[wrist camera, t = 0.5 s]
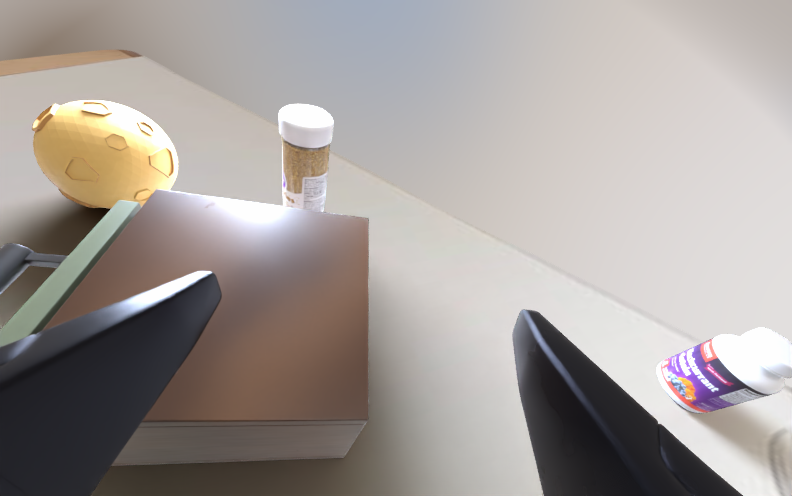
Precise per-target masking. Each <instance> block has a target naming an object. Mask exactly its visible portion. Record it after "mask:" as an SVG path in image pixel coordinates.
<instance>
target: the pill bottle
mask: <svg viewBox="0 0 792 496" xmlns="http://www.w3.org/2000/svg"><path fill="white" fill-rule="evenodd" d="M657 376H658V379H659V381H660V383H661V385H662V386H663V388H664V389H665V391H666V392H667V393H668V394H669V396H670V397H671V398H672V399H673V400H674V401H675V402H677V403H678V404H679V405H680V406H682V407H683V408H685V409H687V410H689V411H691V412H695V413H707V412H711V411H715V410H718V409H722V408H725V407H729V406H733V405H736V404H740V403H743V402H747V401H750V400H754V399H758V398H761V397H765V396H769V395H772V394H775V393H778V392H780V391H781V390H782V389H783V388H784V385H785V379H784V378H791V377H792V343H791V342H790V341H789V340H787V339H786V338H784V337H783V336H781V335H780V334H778V333H776V332H774V331H772V330H770V329H767V328H763V327H762V328H761V327H760V328H757V329H754V330H752V331H749V332H746V333H745V334H743V335H742V336H741V337H739V336H736V335H729V334H724V335H720V336H717V337H715V338H713V339H710V340H708V341H706V342H704V343H702V344H699V345H697V346H695V347H693V348H691V349H688V350H686V351H684V352H682V353H680V354H677V355H675V356H673V357H671V358H668V359H666V360H664V361H662V362H661V363H659V364H658V366H657Z"/></svg>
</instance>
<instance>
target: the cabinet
mask: <svg viewBox="0 0 792 496" xmlns="http://www.w3.org/2000/svg"><path fill="white" fill-rule="evenodd" d="M196 271H210V272H213V273H214V274H215V275H216V277H217V280H218V283H219V286H220V289H221V292H222V298H221V301H220V303H219V305H218V306H217V308H216V310H215V312H214V313H213V315H212V317H211V319H210V321H209V322H208V324H207V326H206V328H205V329H204V331H203V333H202V335H201V337H200V338H199V340H198V342H197V343H196V345H195V346H194V348H193V349H192V351H191V352H190V354H189V355H188V357H187V358H186V360H185V361H184V362H183V364H182V365H181V367H180V368H179V370H178V371H177V372H176V374H175V375H174V377H173V378H172V380H171V381H170V382H169V384H168V385H167V387H166V388H165V390H164V391H163V392H162V394H161V395H160V397H159V398H158V400H157V401H156V402H155V404H154V405H153V407H152V408H151V410H150V411H149V412H148V414H147V415H146V417H145V418H144V420H143V421H142V422H141V424H140V425H139V427H138V428H137V430H136V431H135V432H134V434H133V435H132V437H131V438H130V440H129V441H128V442H127V444H126V445H125V447H124V448H123V450H122V451H121V452H120V454H119V455H118V457H117V458H116V460H115V461H114V462H113V464H112V465H111V466H123V465H151V464H180V463H208V462H236V461H264V460H292V459H320V458H343V457H344V456H345V455H346V453H347V452H348V450H349V449H350V447H351V446H352V444H353V443H354V441H355V439H356V438H357V436H358V435H359V433H360V432H361V430H362V429H363V427H364V426H365V424H366V423H367V421H368V419H369V219H368V218H362V217H355V216H348V215H341V214H334V213H326V212H319V211H312V210H305V209H297V208H290V207H283V206H276V205H269V204H261V203H254V202H247V201H240V200H233V199H225V198H218V197H211V196H204V195H196V194H189V193H182V192H175V191H168V190H160V189H156V190H155V191H154V192H153V194H152V195H151V196H150V197H149V199H148V200H147V201H146V202H145V204H144V205H143V206H142V207H141V209H140V210H139V211H138V212H137V214H136V215H135V216H134V217H133V219H132V220H131V221H130V222H129V223H128V225H127V226H126V227H125V228H124V230H123V231H122V232H121V233H120V235H119V236H118V237H117V238H116V240H115V241H114V242H113V243H112V245H111V246H110V247H109V248H108V250H107V251H106V252H105V253H104V254H103V256H102V257H101V258H100V259H99V261H98V262H97V263H96V264H95V266H94V267H93V268H92V269H91V271H90V272H89V273H88V274H87V276H86V277H85V278H84V279H83V281H82V282H81V283H80V284H79V285H78V287H77V288H76V289H75V290H74V292H73V293H72V294H71V295H70V297H69V298H68V299H67V300H66V302H65V303H64V304H63V305H62V307H61V308H60V309H59V310H58V312H57V313H56V314H55V315H54V316H53V318H52V319H51V320H50V321H49V323H48V324H47V325H46V326H45V328H44V329H43V330H46V329H48V328H51V327H54V326H56V325H59V324H61V323H64V322H67V321H69V320H72V319H74V318H77V317H80V316H82V315H85V314H87V313H90V312H92V311H95V310H98V309H100V308H103V307H105V306H108V305H111V304H113V303H116V302H118V301H121V300H124V299H126V298H129V297H131V296H134V295H137V294H139V293H142V292H144V291H147V290H150V289H152V288H155V287H157V286H160V285H163V284H165V283H168V282H170V281H173V280H176V279H178V278H181V277H183V276H186V275H188V274H191V273H194V272H196ZM43 330H42V331H43Z"/></svg>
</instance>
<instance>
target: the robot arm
mask: <svg viewBox="0 0 792 496" xmlns="http://www.w3.org/2000/svg"><path fill="white" fill-rule="evenodd" d="M221 298H222V292H221V289H220V286H219V283H218V280H217V277H216V275H215V274H214V273H213V272H210V271H196V272H194V273H191V274H188V275H186V276H183V277H181V278H178V279H176V280H173V281H170V282H168V283H165V284H163V285H160V286H157V287H155V288H152V289H150V290H147V291H144V292H142V293H139V294H137V295H134V296H131V297H129V298H126V299H124V300H121V301H118V302H116V303H113V304H111V305H108V306H105V307H103V308H100V309H98V310H95V311H92V312H90V313H87V314H85V315H82V316H80V317H77V318H74V319H72V320H69V321H67V322H64V323H61V324H59V325H56V326H54V327H51V328H48V329H46V330H43V331H41V332H38V333H37V334H36V335H35V334H33V335H30V336H27V337H25V338H22V339H20V340H17V341H14V342H12V343H9V344H7V345H4V346H1V347H0V496H90V495H91V494H92V492H93V491H94V490H95V488H96V487H97V485H98V484H99V482H100V481H101V480H102V478H103V477H104V475H105V474H106V472H107V471H108V470H109V468H110V467H111V465H112V464H113V462H114V461H115V460H116V458H117V457H118V455H119V454H120V452H121V451H122V450H123V448H124V447H125V445H126V444H127V442H128V441H129V440H130V438H131V437H132V435H133V434H134V432H135V431H136V430H137V428H138V427H139V425H140V424H141V422H142V421H143V420H144V418H145V417H146V415H147V414H148V412H149V411H150V410H151V408H152V407H153V405H154V404H155V402H156V401H157V400H158V398H159V397H160V395H161V394H162V392H163V391H164V390H165V388H166V387H167V385H168V384H169V382H170V381H171V380H172V378H173V377H174V375H175V374H176V372H177V371H178V370H179V368H180V367H181V365H182V364H183V362H184V361H185V360H186V358H187V357H188V355H189V354H190V352H191V351H192V349H193V348H194V346H195V345H196V343H197V342H198V340H199V338H200V337H201V335H202V333H203V331H204V329H205V328H206V326H207V324H208V322H209V321H210V319H211V317H212V315H213V313H214V312H215V310H216V308H217V306H218V305H219V303H220V301H221ZM513 346H514V354H515V362H516V371H517V379H518V386H519V392H520V397H521V401H522V406H523V410H524V414H525V418H526V422H527V427H528V431H529V435H530V439H531V443H532V448H533V452H534V456H535V460H536V464H537V469H538V473H539V477H540V481H541V485H542V490H543V494H544V496H743V495H742V494H740V493H739V492H738V491H737V490H736V489H734V488H733V487H732V486H731V485H730V484H729V483H727V482H726V481H725V480H724V479H723V478H721V477H720V476H719V475H718V474H717V473H715V472H714V471H713V470H712V469H711V468H710V467H708V466H707V465H706V464H705V463H704V462H703V461H702V460H701V459H699V458H698V457H697V456H696V455H695V454H694V453H693V452H692V451H690V450H689V449H688V448H687V447H686V446H685V445H684V444H682V443H681V442H680V441H679V440H678V439H677V438H676V437H675V436H674V435H673V434H671V433H670V432H669V431H668V430H667V429H666V428H665V427H664V426H663V425H661V424H658V421H657V420H656V419H655V418H654V417H653V416H652V415H650V414H649V413H648V412H647V411H646V410H645V409H644V408H643V407H642V406H641V405H640V404H638V403H637V402H636V401H635V400H634V399H633V398H632V397H631V396H630V395H629V394H627V393H626V392H625V391H624V390H623V389H622V388H621V387H620V386H619V385H618V384H617V383H615V382H614V381H613V380H612V379H611V378H610V377H609V376H608V375H607V374H606V373H605V372H603V371H602V370H601V369H600V368H599V367H598V366H597V365H596V364H595V363H594V362H592V361H591V360H590V359H589V358H588V357H587V356H586V355H585V354H584V353H583V352H582V351H580V350H579V349H578V348H577V347H576V346H575V345H574V344H573V343H572V342H571V341H569V340H568V339H567V338H566V337H565V336H564V335H563V334H562V333H561V332H560V331H559V330H557V329H556V328H555V327H554V326H553V325H552V324H551V323H550V322H549V321H548V320H546V319H545V318H544V317H543V316H542V315H541V314H540V313H539V312H537V311H532V310H522V311H521V312H520V313H519V316H518V319H517V321H516V324H515V327H514V330H513Z"/></svg>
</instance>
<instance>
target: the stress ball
mask: <svg viewBox="0 0 792 496" xmlns="http://www.w3.org/2000/svg"><path fill="white" fill-rule="evenodd" d="M32 130H33V131H35V134H34V140H33V147H34V154H35V157H36V160H37V162H38V164H39V166H40V168H41V170H42V171H43V173H44V174H45V175H46V176H47V177H48V179H49V180H50V181H51V182H52V183H53V184H55V185H56V186H57V187H58V188H59V191H60V192H61V193H62V194H63V195H64V196H65V197H66V198H68V199H70V200H72V201H74V202H76V203H78V204H81V205H84V206H86V207H91V208H98V207H102V208H108V209H111V208H112V207H113V206H114V205H115V204H116V203H117V202H118V200H124V201H131V202H139V203H140V206H141V207H142V206H143V205H144V204H145V202H146V201H147V200H148V199H149V197H150V196H151V195H152V194H153V192H154V191H155V190H156V189H160V190H168V191H170V189H171V187H172V185H173V184H174V182H175V179H176V177H177V172H178V159H177V154H176V151H175V149H174V146H173V144H172V143H171V141H170V139H169V138H168V136H167V135H166V134H165V133H164V131H163V130H162V129H161V128H160V127H159V126H158V125H157V124H155V123H154V122H153V121H152V120H150V119H149V118H147V117H146V116H144V115H143V114H141V113H139V112H137V111H135V110H133V109H131V108H128V107H126V106H123V105H120V104H116V103H112V102H107V101H100V100H82V101H75V102H71V103H67V104H64V105H61V106H59V105H57V104H54V105H52V106H50V107H49V108H48V109H46V110H45V111H43V112H42V113H41V114H40V115H39V117H38V118H37V119H36V120H35V122H34V123H33V127H32Z"/></svg>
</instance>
